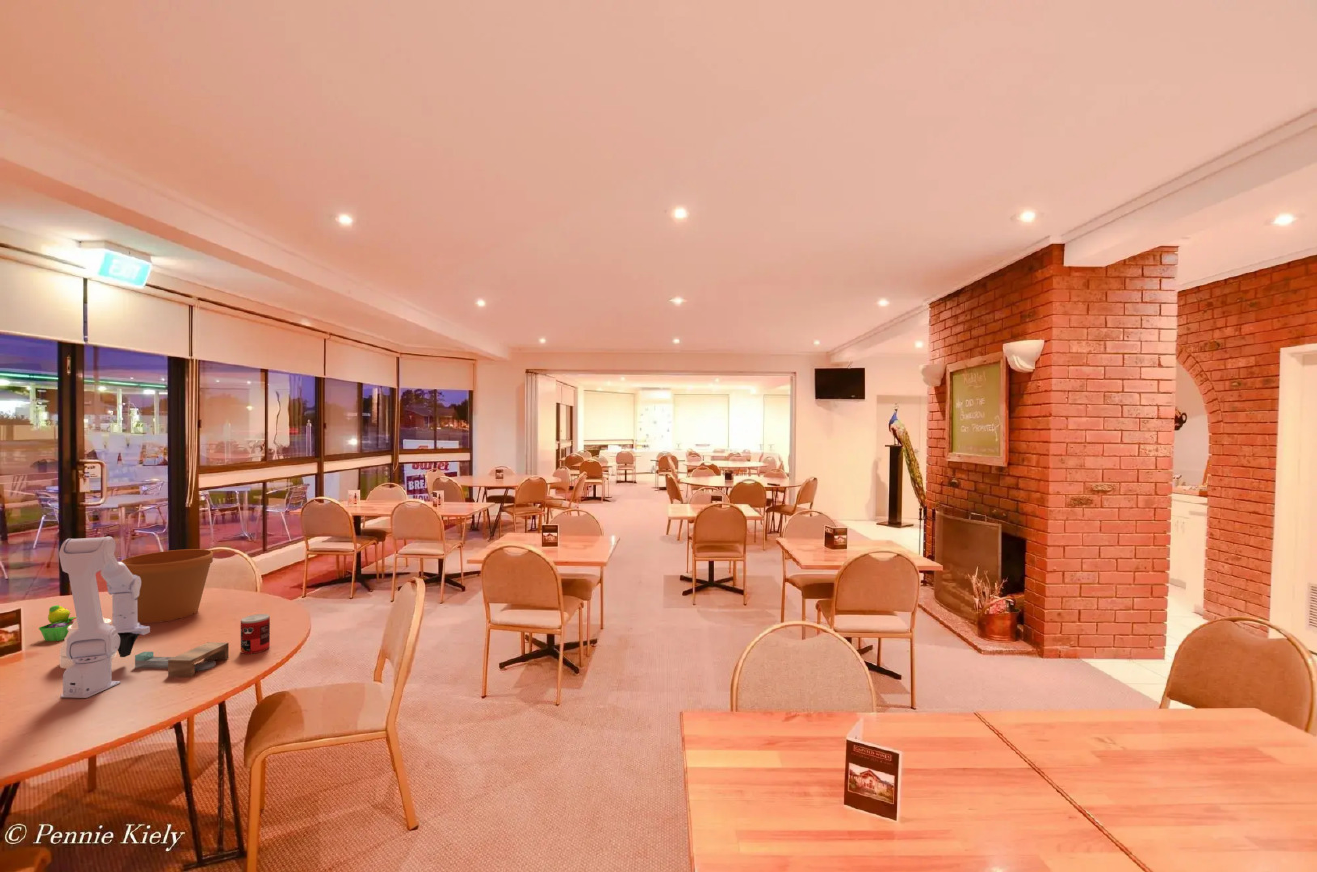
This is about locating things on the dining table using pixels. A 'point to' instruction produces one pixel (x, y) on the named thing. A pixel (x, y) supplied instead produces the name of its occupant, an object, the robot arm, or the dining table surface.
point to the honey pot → (64, 660)
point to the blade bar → (150, 661)
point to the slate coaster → (204, 665)
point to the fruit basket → (57, 624)
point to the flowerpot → (170, 583)
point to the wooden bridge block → (196, 658)
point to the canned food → (255, 633)
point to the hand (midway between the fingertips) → (125, 655)
